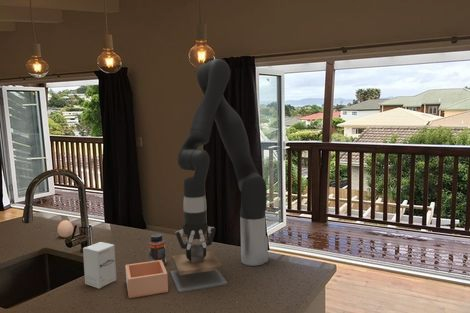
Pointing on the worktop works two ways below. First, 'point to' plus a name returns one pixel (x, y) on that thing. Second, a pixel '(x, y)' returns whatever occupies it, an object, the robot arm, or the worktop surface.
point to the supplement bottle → (157, 248)
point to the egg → (65, 228)
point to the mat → (197, 280)
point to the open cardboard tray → (146, 278)
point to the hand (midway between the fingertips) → (196, 258)
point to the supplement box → (99, 264)
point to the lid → (196, 261)
